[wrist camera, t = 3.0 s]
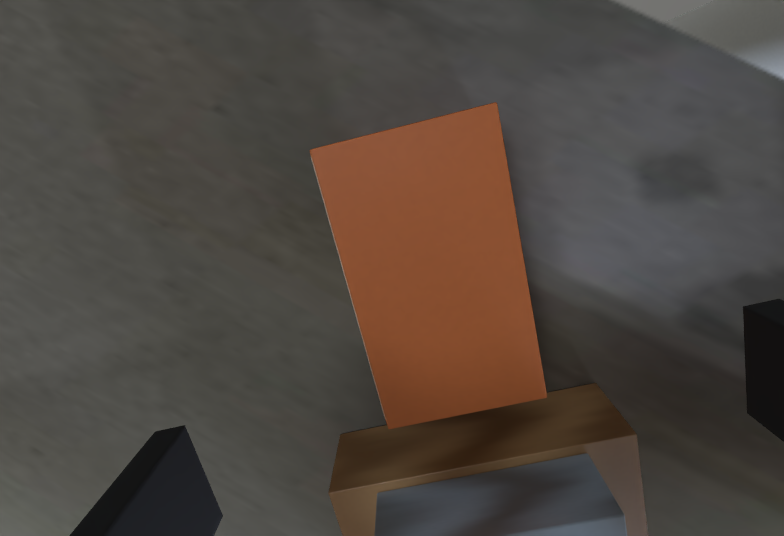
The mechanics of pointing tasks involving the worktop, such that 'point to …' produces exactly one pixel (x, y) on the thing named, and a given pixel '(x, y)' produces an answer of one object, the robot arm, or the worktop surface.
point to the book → (434, 265)
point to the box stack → (496, 473)
